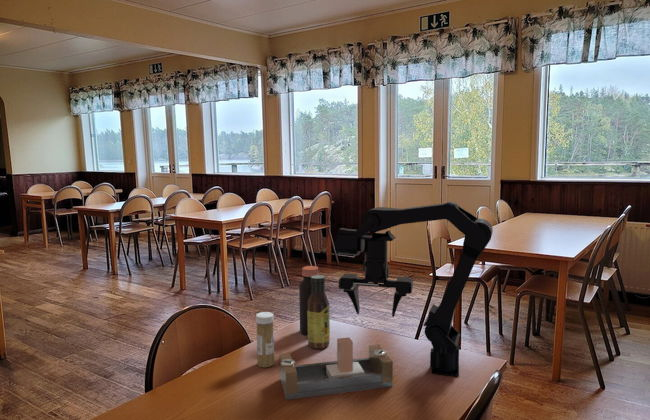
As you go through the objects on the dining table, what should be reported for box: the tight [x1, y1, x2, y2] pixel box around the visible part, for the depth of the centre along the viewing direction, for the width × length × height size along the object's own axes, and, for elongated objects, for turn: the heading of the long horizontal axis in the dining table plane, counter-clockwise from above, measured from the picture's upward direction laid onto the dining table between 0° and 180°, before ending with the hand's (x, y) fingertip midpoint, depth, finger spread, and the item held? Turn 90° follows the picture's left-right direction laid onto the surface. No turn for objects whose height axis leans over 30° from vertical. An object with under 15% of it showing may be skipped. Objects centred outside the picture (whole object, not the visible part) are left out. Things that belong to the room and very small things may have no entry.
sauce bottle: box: [307, 275, 331, 350], centre depth 135 cm, size 7×6×20 cm
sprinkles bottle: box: [255, 311, 275, 368], centre depth 124 cm, size 5×5×13 cm
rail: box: [279, 344, 394, 401], centre depth 114 cm, size 26×10×7 cm, turn 103°
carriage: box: [326, 337, 365, 378], centre depth 114 cm, size 8×6×9 cm
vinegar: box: [298, 265, 319, 337], centre depth 145 cm, size 7×7×20 cm
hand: (375, 315), depth 126 cm, fingers open, 9 cm apart
